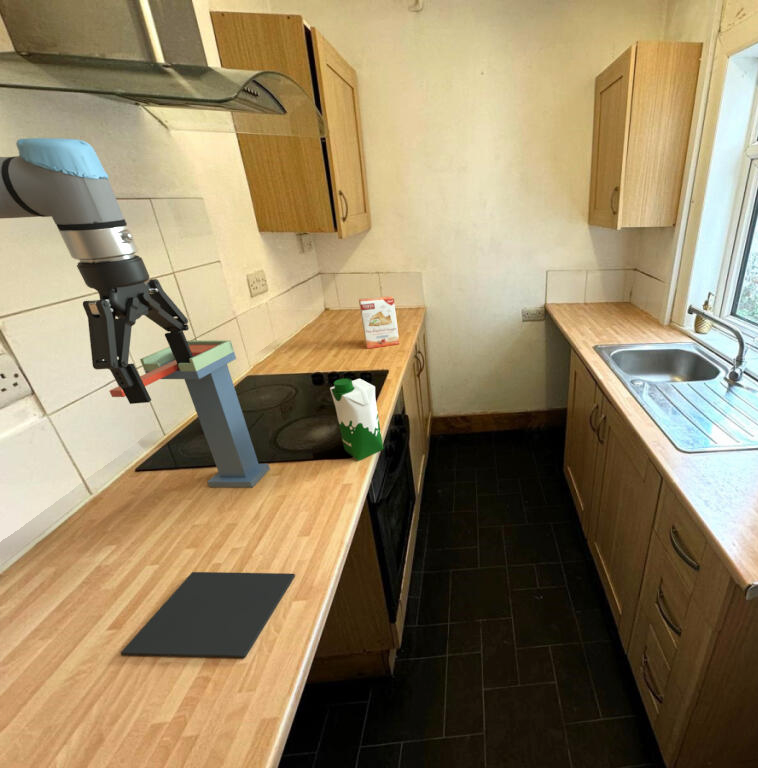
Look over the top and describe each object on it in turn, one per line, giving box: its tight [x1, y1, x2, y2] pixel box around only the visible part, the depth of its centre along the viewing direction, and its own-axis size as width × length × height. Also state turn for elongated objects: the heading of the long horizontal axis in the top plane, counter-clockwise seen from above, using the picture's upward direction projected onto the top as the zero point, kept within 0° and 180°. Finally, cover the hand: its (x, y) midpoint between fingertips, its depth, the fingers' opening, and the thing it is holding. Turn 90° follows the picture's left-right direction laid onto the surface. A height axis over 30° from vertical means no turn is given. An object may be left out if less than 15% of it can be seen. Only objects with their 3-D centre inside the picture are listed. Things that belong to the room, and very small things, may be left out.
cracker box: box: [358, 295, 400, 349], centre depth 180 cm, size 14×6×21 cm, turn 115°
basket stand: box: [139, 339, 271, 489], centre depth 88 cm, size 10×11×32 cm
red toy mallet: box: [109, 345, 217, 398], centre depth 77 cm, size 6×21×2 cm, turn 178°
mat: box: [120, 571, 296, 659], centre depth 65 cm, size 18×14×1 cm
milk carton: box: [329, 377, 384, 462], centre depth 103 cm, size 9×9×20 cm
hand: (166, 382), depth 72 cm, fingers open, 13 cm apart
